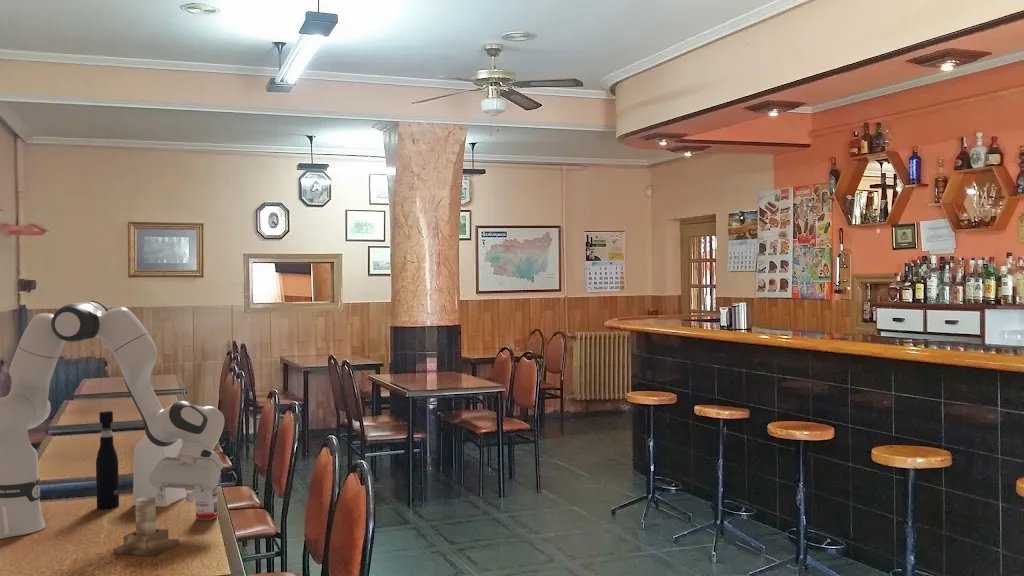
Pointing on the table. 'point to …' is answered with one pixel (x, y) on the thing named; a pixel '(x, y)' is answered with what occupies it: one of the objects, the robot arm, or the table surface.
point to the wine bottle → (107, 466)
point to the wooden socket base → (146, 543)
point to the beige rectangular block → (145, 516)
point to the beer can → (207, 504)
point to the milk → (145, 463)
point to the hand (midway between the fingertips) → (173, 500)
